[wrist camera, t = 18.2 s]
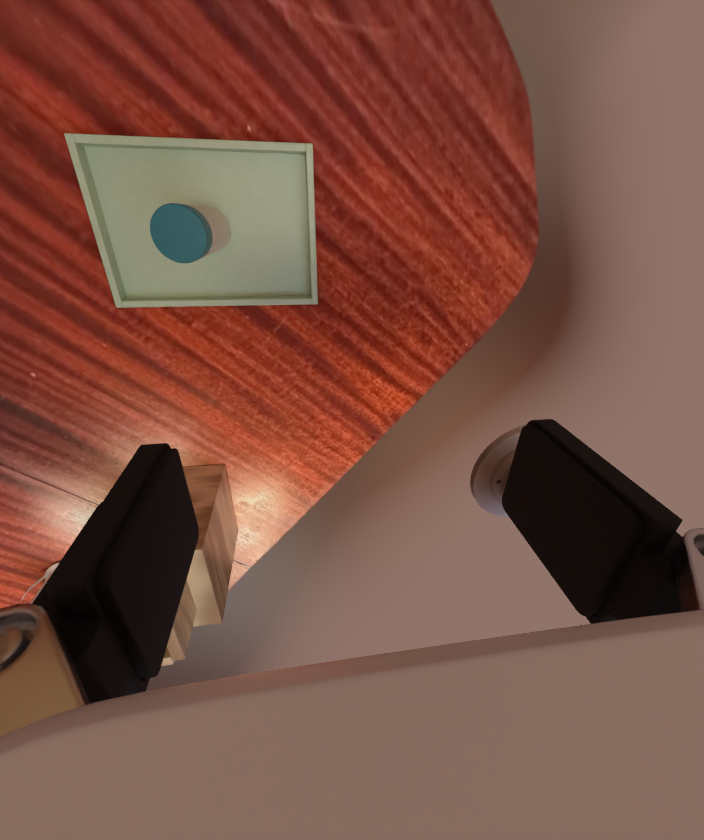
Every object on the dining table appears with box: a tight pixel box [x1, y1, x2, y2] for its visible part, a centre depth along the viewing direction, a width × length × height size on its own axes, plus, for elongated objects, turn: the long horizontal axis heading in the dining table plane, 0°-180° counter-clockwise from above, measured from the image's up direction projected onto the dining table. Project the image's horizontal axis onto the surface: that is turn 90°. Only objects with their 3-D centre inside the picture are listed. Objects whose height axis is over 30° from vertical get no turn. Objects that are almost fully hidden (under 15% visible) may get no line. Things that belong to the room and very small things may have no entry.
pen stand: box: [161, 464, 238, 666], centre depth 41 cm, size 12×12×19 cm
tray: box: [64, 133, 318, 308], centre depth 33 cm, size 19×13×2 cm
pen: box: [150, 203, 231, 263], centre depth 29 cm, size 4×4×11 cm
